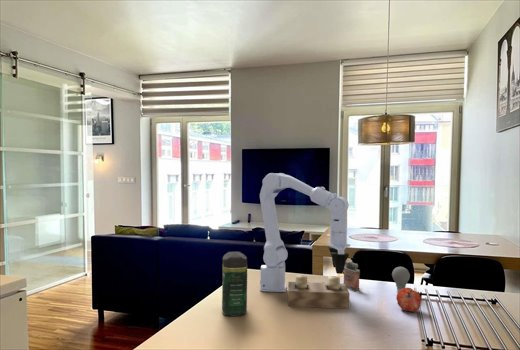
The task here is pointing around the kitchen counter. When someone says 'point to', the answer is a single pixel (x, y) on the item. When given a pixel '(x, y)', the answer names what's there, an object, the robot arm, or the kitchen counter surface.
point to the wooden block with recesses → (318, 296)
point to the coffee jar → (234, 284)
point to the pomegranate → (409, 299)
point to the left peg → (301, 282)
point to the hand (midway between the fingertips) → (337, 270)
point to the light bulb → (400, 277)
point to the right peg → (333, 283)
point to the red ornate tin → (351, 276)
